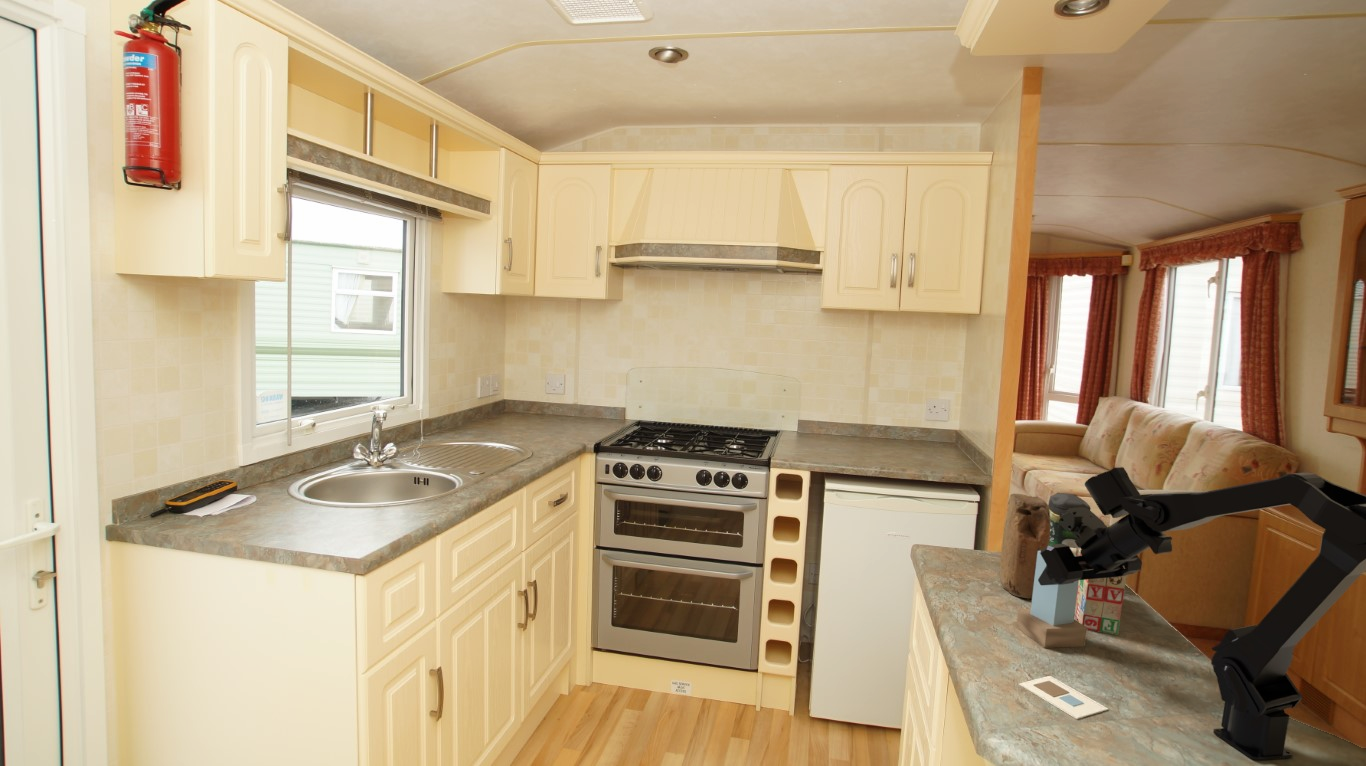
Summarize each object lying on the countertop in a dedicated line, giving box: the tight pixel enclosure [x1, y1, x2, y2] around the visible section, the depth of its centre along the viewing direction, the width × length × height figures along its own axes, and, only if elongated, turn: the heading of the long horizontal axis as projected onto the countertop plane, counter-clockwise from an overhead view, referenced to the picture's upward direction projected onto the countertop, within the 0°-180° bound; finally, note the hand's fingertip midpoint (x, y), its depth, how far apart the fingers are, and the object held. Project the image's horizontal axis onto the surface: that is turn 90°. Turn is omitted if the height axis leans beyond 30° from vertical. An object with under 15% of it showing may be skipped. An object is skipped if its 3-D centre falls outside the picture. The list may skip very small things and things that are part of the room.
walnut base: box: [1015, 608, 1088, 649], centre depth 133 cm, size 8×8×4 cm
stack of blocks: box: [1070, 547, 1128, 635], centre depth 145 cm, size 21×6×12 cm, turn 162°
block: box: [999, 493, 1050, 599], centre depth 153 cm, size 11×8×20 cm
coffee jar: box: [1047, 492, 1092, 548], centre depth 162 cm, size 10×8×19 cm
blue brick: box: [1030, 551, 1079, 626], centre depth 132 cm, size 5×5×12 cm
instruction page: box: [1019, 675, 1109, 720], centre depth 112 cm, size 10×7×1 cm
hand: (1058, 580), depth 131 cm, fingers open, 9 cm apart
